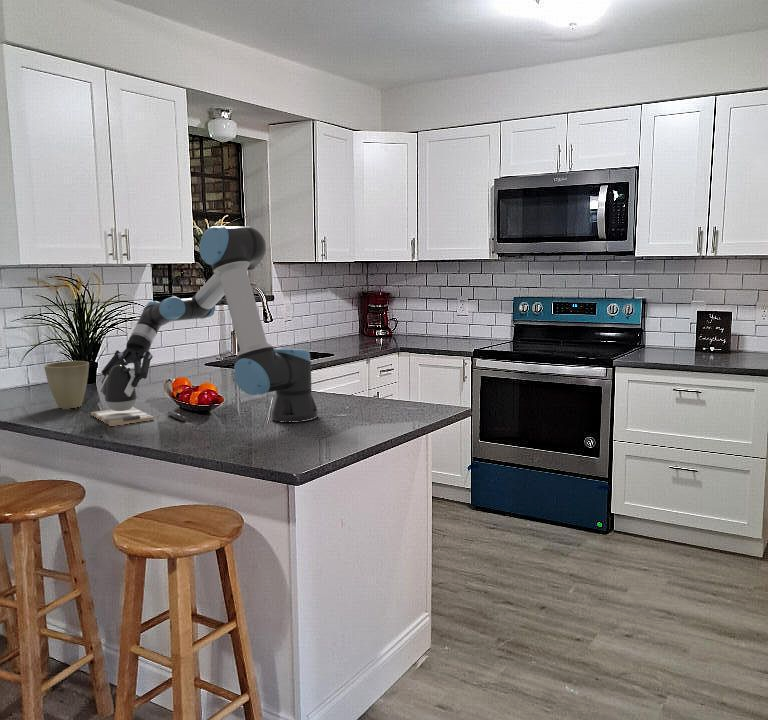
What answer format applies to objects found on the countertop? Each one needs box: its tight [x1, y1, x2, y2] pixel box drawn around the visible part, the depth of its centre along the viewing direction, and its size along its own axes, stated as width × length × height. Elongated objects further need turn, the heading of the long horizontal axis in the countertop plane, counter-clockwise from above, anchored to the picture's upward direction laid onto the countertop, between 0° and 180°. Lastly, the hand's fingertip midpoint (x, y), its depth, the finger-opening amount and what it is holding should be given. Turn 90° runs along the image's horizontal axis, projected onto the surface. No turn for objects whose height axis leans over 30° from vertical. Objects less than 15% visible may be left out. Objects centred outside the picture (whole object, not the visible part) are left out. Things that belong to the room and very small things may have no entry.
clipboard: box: [90, 406, 155, 427], centre depth 249 cm, size 22×14×2 cm, turn 36°
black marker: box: [167, 410, 187, 422], centre depth 246 cm, size 14×2×2 cm, turn 36°
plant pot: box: [43, 360, 90, 410], centre depth 267 cm, size 15×15×16 cm
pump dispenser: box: [104, 365, 138, 411], centre depth 247 cm, size 10×10×15 cm
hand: (114, 393), depth 245 cm, fingers closed on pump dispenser, 9 cm apart
